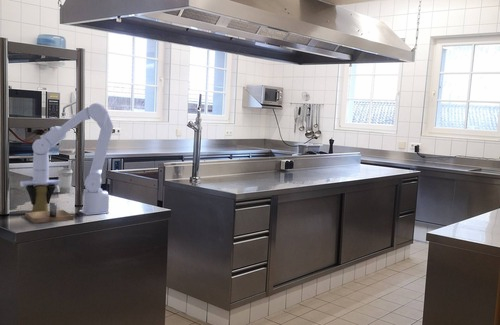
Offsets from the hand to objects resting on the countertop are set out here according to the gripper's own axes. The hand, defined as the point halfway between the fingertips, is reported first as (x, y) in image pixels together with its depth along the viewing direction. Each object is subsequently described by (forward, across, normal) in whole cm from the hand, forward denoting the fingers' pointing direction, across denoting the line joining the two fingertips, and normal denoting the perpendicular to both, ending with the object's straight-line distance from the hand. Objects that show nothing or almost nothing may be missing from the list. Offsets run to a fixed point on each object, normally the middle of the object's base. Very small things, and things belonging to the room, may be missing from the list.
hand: (40, 203), depth 193 cm
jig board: (+3, 0, +12) cm, 12 cm away
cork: (+4, 0, 0) cm, 4 cm away
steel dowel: (+2, 0, +16) cm, 16 cm away
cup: (+4, -22, -38) cm, 44 cm away
